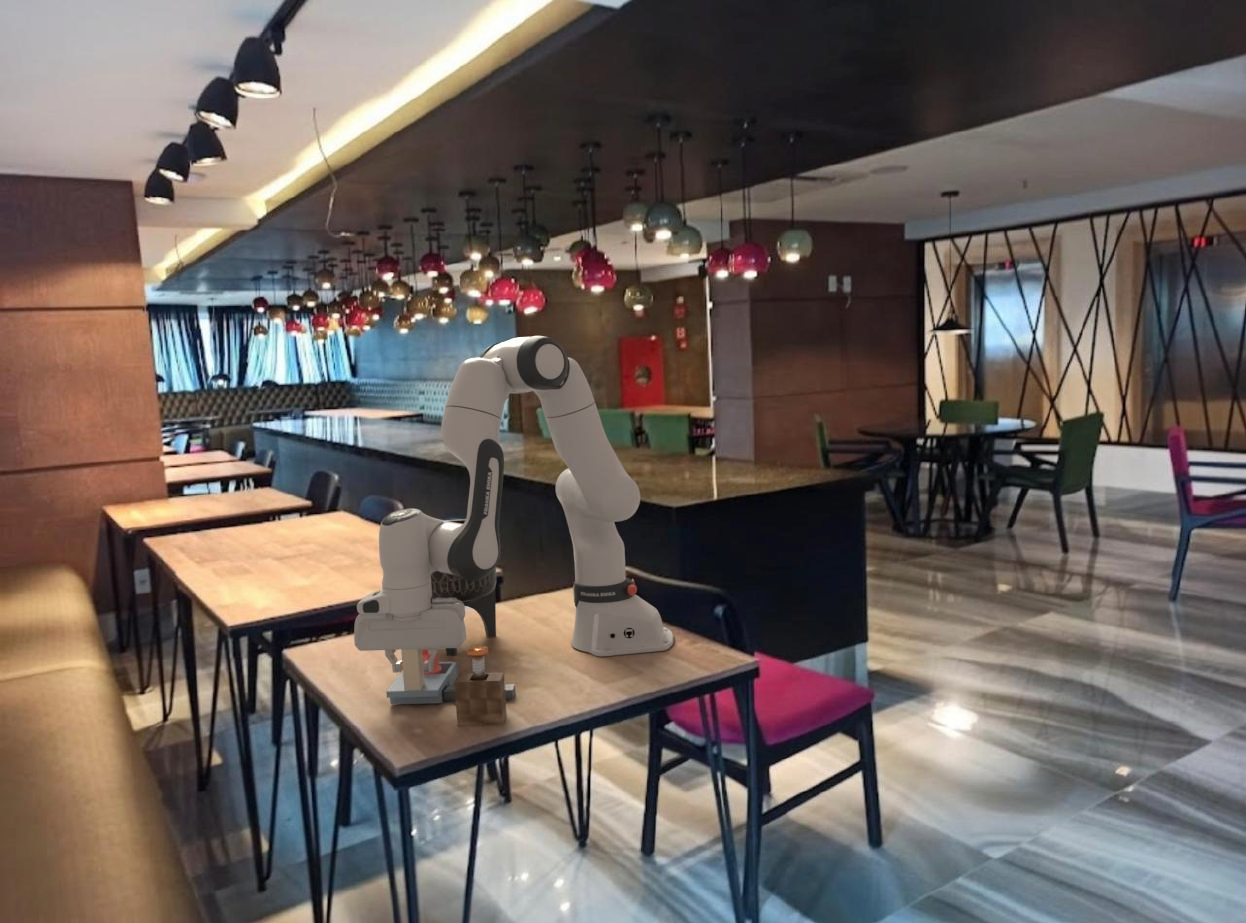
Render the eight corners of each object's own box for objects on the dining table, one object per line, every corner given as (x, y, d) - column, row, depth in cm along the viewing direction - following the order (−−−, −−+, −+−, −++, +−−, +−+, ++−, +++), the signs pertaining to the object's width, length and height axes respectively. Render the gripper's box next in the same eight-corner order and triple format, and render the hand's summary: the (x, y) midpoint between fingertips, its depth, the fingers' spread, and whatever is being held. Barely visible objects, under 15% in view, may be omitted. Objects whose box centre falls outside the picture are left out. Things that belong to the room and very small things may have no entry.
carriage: (458, 675, 181) (454, 621, 180) (439, 707, 165) (434, 648, 164) (411, 677, 182) (407, 623, 180) (387, 708, 166) (382, 649, 164)
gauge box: (506, 715, 161) (503, 672, 160) (502, 724, 157) (499, 680, 156) (462, 716, 161) (459, 673, 160) (457, 725, 157) (454, 682, 156)
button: (491, 682, 160) (489, 645, 159) (488, 690, 156) (485, 652, 156) (471, 683, 160) (469, 646, 159) (467, 690, 157) (465, 653, 156)
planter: (495, 655, 193) (487, 535, 190) (404, 659, 193) (395, 538, 190) (508, 627, 212) (501, 517, 209) (425, 630, 213) (417, 520, 209)
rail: (515, 694, 171) (514, 683, 170) (512, 700, 168) (512, 689, 168) (401, 697, 172) (400, 686, 172) (396, 703, 169) (395, 693, 169)
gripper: (467, 592, 167) (472, 663, 169) (359, 595, 168) (365, 666, 170) (460, 601, 161) (465, 675, 163) (348, 605, 162) (354, 678, 164)
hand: (413, 671), depth 167 cm, fingers open, 4 cm apart
